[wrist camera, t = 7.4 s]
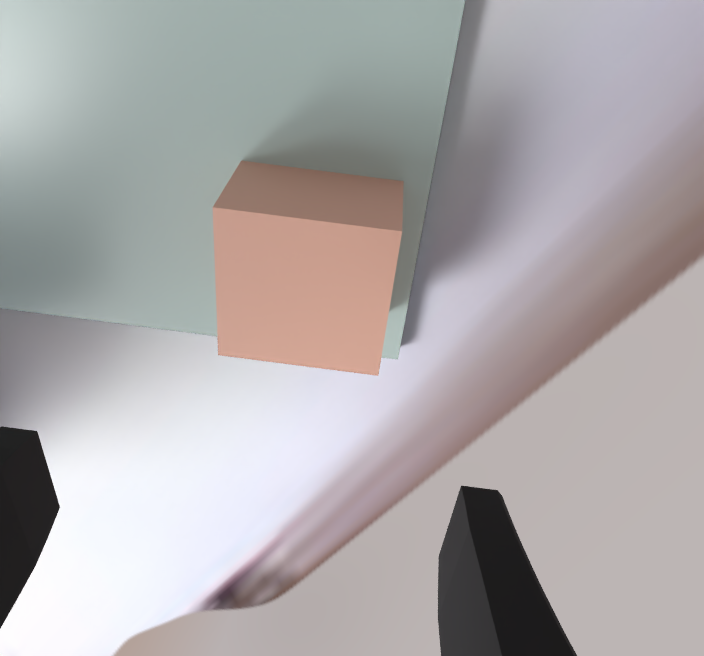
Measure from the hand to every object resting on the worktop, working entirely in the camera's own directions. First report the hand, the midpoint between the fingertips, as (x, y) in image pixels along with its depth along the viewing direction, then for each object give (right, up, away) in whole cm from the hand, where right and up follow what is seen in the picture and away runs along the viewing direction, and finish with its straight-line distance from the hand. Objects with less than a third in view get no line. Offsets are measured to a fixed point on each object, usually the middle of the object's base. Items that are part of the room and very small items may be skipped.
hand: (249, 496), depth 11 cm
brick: (+1, +5, +8) cm, 9 cm away
